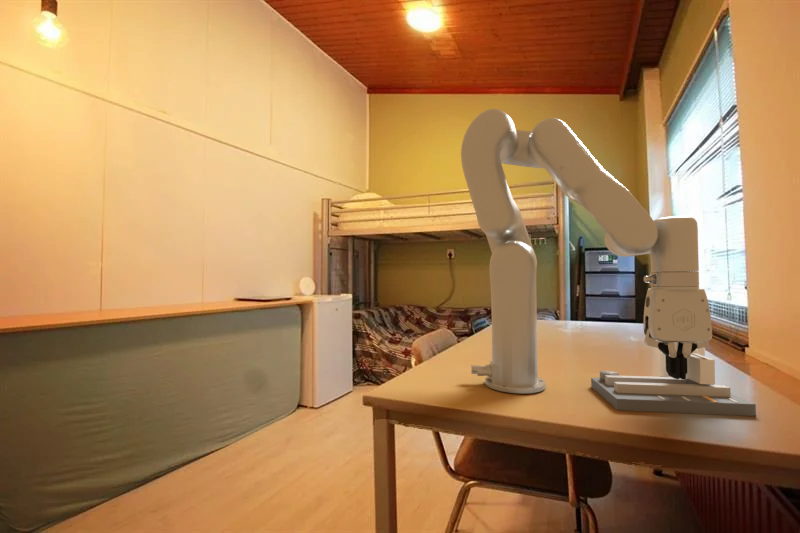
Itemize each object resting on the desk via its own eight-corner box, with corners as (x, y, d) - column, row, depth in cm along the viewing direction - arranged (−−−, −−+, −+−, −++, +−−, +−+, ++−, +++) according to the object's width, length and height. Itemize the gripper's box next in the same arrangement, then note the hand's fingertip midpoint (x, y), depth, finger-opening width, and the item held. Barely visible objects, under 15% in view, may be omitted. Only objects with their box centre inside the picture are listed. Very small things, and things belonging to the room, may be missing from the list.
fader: (698, 393, 71) (698, 358, 72) (681, 385, 77) (681, 352, 77) (717, 394, 71) (716, 359, 71) (698, 385, 77) (698, 352, 77)
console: (617, 410, 70) (616, 389, 70) (591, 386, 84) (591, 369, 84) (755, 416, 66) (755, 394, 66) (705, 390, 80) (704, 372, 80)
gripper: (641, 282, 72) (643, 381, 72) (731, 281, 70) (734, 384, 70) (624, 281, 80) (626, 371, 79) (705, 280, 77) (707, 373, 77)
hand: (676, 377), depth 75 cm, fingers closed
